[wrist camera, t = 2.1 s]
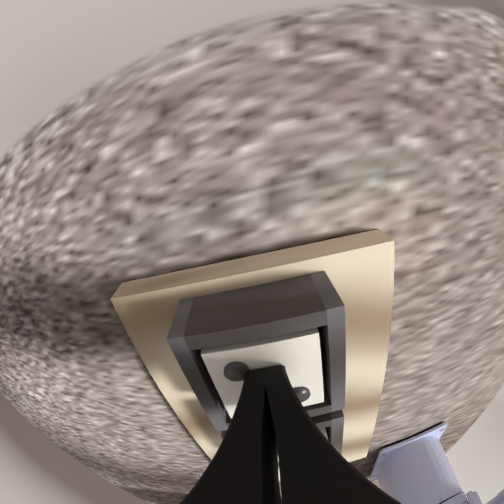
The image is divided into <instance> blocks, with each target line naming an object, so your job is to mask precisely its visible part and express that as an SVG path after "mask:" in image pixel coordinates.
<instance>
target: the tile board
mask: <svg viewBox="0 0 504 504" xmlns="http://www.w3.org/2000/svg"><path fill="white" fill-rule="evenodd" d="M393 287H394V240H393V239H392V238H390V237H389V236H388V235H386V234H385V233H384V232H382V231H381V230H379V229H376V230H371V231H367V232H362V233H357V234H353V235H348V236H343V237H338V238H334V239H329V240H324V241H320V242H315V243H310V244H305V245H301V246H296V247H291V248H286V249H282V250H277V251H272V252H267V253H263V254H258V255H253V256H248V257H243V258H239V259H234V260H229V261H224V262H219V263H215V264H210V265H205V266H200V267H195V268H190V269H186V270H181V271H176V272H171V273H166V274H161V275H156V276H152V277H147V278H142V279H137V280H132V281H127V282H122V283H121V285H120V286H119V288H118V289H117V290H116V292H115V293H114V294H113V296H112V297H111V301H112V303H113V306H114V308H115V310H116V312H117V314H118V316H119V318H120V320H121V322H122V324H123V326H124V328H125V330H126V332H127V334H128V335H129V337H130V339H131V341H132V343H133V345H134V347H135V348H136V350H137V352H138V354H139V356H140V357H141V359H142V361H143V363H144V364H145V366H146V368H147V369H148V371H149V373H150V374H151V376H152V378H153V379H154V381H155V382H156V384H157V386H158V387H159V389H160V390H161V392H162V393H163V395H164V397H165V398H166V400H167V401H168V403H169V404H170V406H171V407H172V408H173V410H174V411H175V413H176V414H177V416H178V417H179V419H180V420H181V421H182V423H183V424H184V425H185V427H186V428H187V430H188V431H189V432H190V434H191V435H192V436H193V438H194V439H195V440H196V442H197V443H198V444H199V445H200V447H201V448H202V449H203V450H204V452H205V453H206V454H207V455H208V457H209V458H210V459H211V460H212V459H213V457H214V456H215V454H216V452H217V450H218V448H219V446H220V444H221V442H222V440H223V438H224V436H225V434H226V431H227V429H228V427H229V425H230V422H231V420H232V418H231V417H230V415H229V414H228V412H227V410H226V408H225V406H224V403H223V401H222V399H221V397H220V395H219V393H218V391H217V389H216V387H215V385H214V383H213V381H212V378H211V376H210V374H209V372H208V370H207V367H206V365H205V363H204V361H203V359H202V356H201V350H202V349H204V348H211V347H218V346H224V345H230V344H236V343H242V342H248V341H254V340H259V339H264V338H269V337H274V336H279V335H284V334H289V333H294V332H298V331H303V330H307V329H312V328H316V327H317V329H318V331H319V338H320V349H321V361H322V375H323V389H324V402H321V403H317V404H313V405H308V406H304V408H305V410H306V411H307V413H308V414H309V416H310V417H311V419H312V420H313V422H314V423H315V424H316V426H317V427H318V428H319V429H321V428H325V429H326V433H327V437H328V441H329V442H330V443H331V444H332V445H333V447H334V448H335V449H336V450H337V451H338V452H339V453H340V454H341V455H342V456H343V457H344V458H345V459H346V460H347V461H348V462H352V461H355V460H358V459H362V458H365V457H367V453H368V450H369V446H370V442H371V439H372V435H373V431H374V426H375V422H376V418H377V413H378V408H379V404H380V399H381V393H382V388H383V382H384V376H385V370H386V363H387V356H388V348H389V339H390V330H391V319H392V305H393Z"/></svg>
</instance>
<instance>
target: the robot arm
mask: <svg viewBox="0 0 504 504" xmlns="http://www.w3.org/2000/svg"><path fill="white" fill-rule="evenodd" d="M446 427H447V423H446V422H444V423H442V424H440V425H438V426H436V427H434V428H432V429H430V430H427V431H425V432H423V433H421V434H419V435H416V436H414V437H412V438H409V439H407V440H405V441H402V442H400V443H397V444H394V445H392V446H389V447H386V448H384V449H382V450H380V452H379V454H378V457H377V459H376V462H375V465H374V467H373V470H372V472H371V475H370V477H369V478H370V480H373V479H376V478H378V480H379V483H380V486H381V489H380V488H378V487H377V486H376V485H374V484H373V483H372V482H370V481H369V480H368V479H367V478H365V477H364V476H363V475H362V474H361V473H360V472H359V471H358V470H357V469H355V468H354V467H353V466H352V465H351V464H350V463H349V462H348V461H347V460H346V459H345V458H344V457H343V456H342V455H341V454H340V453H339V452H338V451H337V450H336V449H335V448H334V447H333V445H332V444H331V443H330V442H329V441H328V440H327V439H326V437H325V436H324V435H323V434H322V432H321V431H320V430H319V428H318V427H317V426H316V424H315V423H314V422H313V420H312V419H311V417H310V416H309V414H308V413H307V411H306V410H305V408H304V407H303V405H302V403H301V402H300V400H299V398H298V397H297V395H296V393H295V391H294V389H293V387H292V385H291V383H290V381H289V378H288V376H287V373H286V369H285V366H283V365H276V366H271V367H266V368H260V369H254V370H249V371H247V372H246V373H245V377H244V382H243V386H242V390H241V394H240V397H239V400H238V403H237V406H236V409H235V412H234V414H233V417H232V420H231V422H230V425H229V427H228V429H227V431H226V434H225V436H224V438H223V440H222V442H221V444H220V446H219V448H218V450H217V452H216V454H215V456H214V457H213V459H212V461H211V462H210V464H209V466H208V467H207V469H206V470H205V472H204V473H203V475H202V476H201V478H200V479H199V481H198V482H197V483H196V485H195V486H194V487H193V489H192V490H191V491H190V492H189V494H188V495H187V496H186V497H185V498H184V500H183V501H182V502H181V503H180V504H482V503H481V500H480V498H479V496H478V494H477V492H472V491H469V492H468V493H467V494H466V495H467V498H468V500H467V498H466V495H465V494H464V492H462V489H461V487H460V485H459V483H458V480H457V478H456V476H455V473H454V471H453V469H452V467H451V465H450V463H449V461H448V458H447V456H446V454H445V452H444V450H443V448H442V446H441V444H440V442H439V438H440V437H441V435H442V433H443V432H444V430H445V428H446ZM278 458H279V471H280V485H281V493H280V486H279V475H278ZM468 502H469V503H468ZM486 504H504V490H502V491H501V492H500V493H498V494H497V496H496V497H495V498H493V499H492V500H490V501H489V502H488V503H486Z"/></svg>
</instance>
